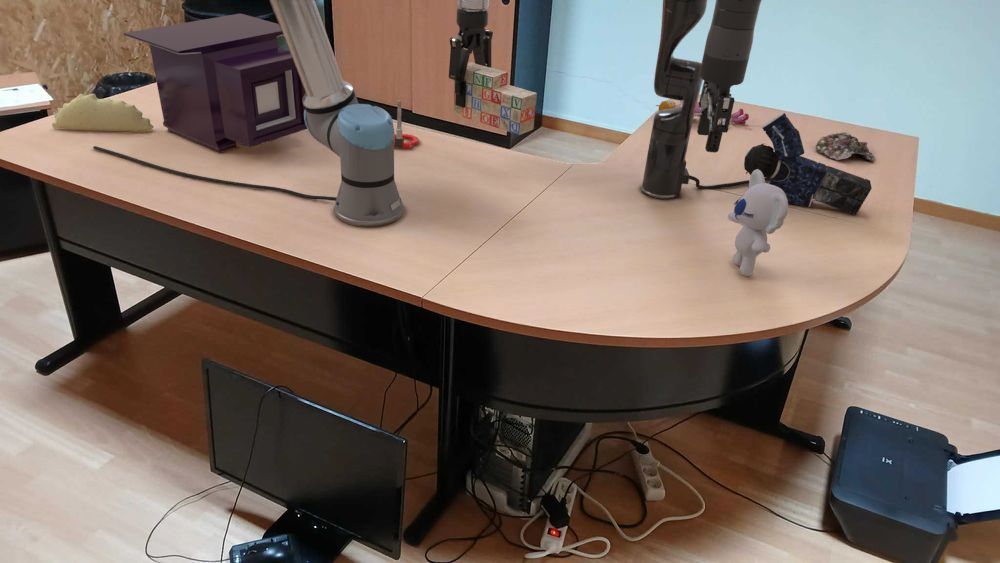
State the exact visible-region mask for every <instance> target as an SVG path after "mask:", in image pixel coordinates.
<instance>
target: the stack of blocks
mask: <svg viewBox="0 0 1000 563" xmlns="http://www.w3.org/2000/svg"><path fill="white" fill-rule="evenodd" d="M508 76H509V72H508V71H504V70H500V69H497V68H493V67H491V68H490V67H486V66H482V65H479V64H475V62H472V61H471V62H469V61H468V65H467V69H466V73H465V77H464V81H466V104H465V107H464V108H463V107H460V106H457V105H455V100H456V93H455V80H453V115H456V116H459V117H462V118H465V119H467V120H471V121H474V122H477V123H480V124H484V125H486V126H491V127H493V128H496V129H499V130H502V131H505V132H508V133H511V134H513V135H514V134H515V135H517V136H520V135H523V134H525V133H528V132H531V131H532V130H534V128H535V118H536V105H537V95H538V92H535V91H531V90H527V89H525V88H521V87H517V86H514V85H511V84H508V79H509V78H508Z"/></svg>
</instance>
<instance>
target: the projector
mask: <svg viewBox="0 0 1000 563" xmlns="http://www.w3.org/2000/svg"><path fill="white" fill-rule="evenodd" d="M123 36H125V37H127V38H130V39H133V40H136V41H138V42H142V43H145V44H148V45H149V50H150V54H151V60H152V66H153V71H154V75H155V76H154V77H155V82H156V87H157V92H158V97H159V102H160V107H161V113H162V118H163V122H162V126H163V127H165V128H166V129H167V131H168V132H170V133H172V134H175V135H177V136H179V137H182V138H184V139H187V140H189V141H191V142H193V143H196V144H197V145H200V146H203V147H205V148H207V149H209V150H212V151H215V152H217V153H219V154H220V153H224V152H227V151H229V150H233V149H235V148H237V144H240V145H242V146H245V147H247V148H249V149H250V148H253V147H256V146H259V145H262V144H266V143H269V142H271V141H275V140H278V139H281V138H285V137H287V136H289V135H293V134H296V133H300V132H302V131H305V130H308V129H307V127H306V124H305V121H304V110H305V108H304V105H303V103H302V99H303V97H304V95H305V93H306V92H305V89H304V87H303V84H302V82H301V79H300V77H299V74H298V71H297V69H296V66H295V64H294V61H293V59H292V56H291V54H290V51H289V49H285V48H282V47H279V44H278V40H277V38H280V37H282V36H283V33H282V31H281V28H280V26H279V23H276V22H272V21H269V20H264V19H262V18H259V17H256V16H255V17H254V16H252V15H247V14H244V13H235V14H230V15H224V16H217V17H212V18H205V19H200V20H194V21H188V22H181V23H175V24H169V25H163V26H157V27H151V28H146V29H145V28H144V29H139V30H134V31H128V32H123Z"/></svg>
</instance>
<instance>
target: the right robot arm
mask: <svg viewBox="0 0 1000 563" xmlns="http://www.w3.org/2000/svg"><path fill="white" fill-rule="evenodd" d="M762 1H763V0H715V5H714V10H713V14H712V20H711V24H710V26H709V29H708V33H707V36H706V39H705V45H704V50H703V55H702V61H701V62H699V61H695V60H689V59H684V58H683V59H682V58H678V57H677V58H676V57H674V52H675V50H676V49H677V47H678V46H679V45H680V44H681V42H682V41H683V40H684V38H686V37H687V36H688V34H690V32H691V31H693V29H694V28H696V26H697V25H698V24H699V23H700V21H701V20H702V18H703V17H704V16H705V14H706V11H707V6H708V0H662V7H661V8H662V10H661V26H660V37H659V38H660V39H659V45H658V51H657V52H658V53H657V59H656V65H655V70H654V78H653V91H654V94H655V95H656V96H657V97H660V98H665V99H667V100H669V99H670V100H675V101H679V102H680V101H682V105H680V106H678V107H675V108H671V109H665V110H661V111H659V110H658V111H657V112H656V113H655V114H654V116H653V122H652V128H651V133H650V138H649V144H648V148H647V156H646V160H645V161H646V162H645V165H644V172H643V178H642V183H641V186H640V190H641V192H642V193H643V194H645V195H646V196H649V197H651V198H655V199H660V200H661V199H662V200H669V199H670V200H671V199H674V198H678V199H679V198H680V196H681V192H682V186H683V185H688V184H689V181H691V180H692V181H694V182H695V187H696V188H697V189H698V190H717V189H722V188H723V189H724V188H730V187H731V188H732V187H737V186H743V185H749V180H750V179H747V180H741V181H736V182H728V183H719V184H714V185H713V184H712V185H701V182H700V179H699V178H697V177H696V176H693V175H690V173H689V170H688V169H687V160H686V156H687V151H688V146H689V141H690V136H691V132H692V127H693V122H694V121H693V119H695V116H694V113H695V109H696V104H697V102H699V107H701V108H700V113H701V115H700V117H699V120H698V125H697V130H696V133H697V135H698V136H707V138H706V143H705V147H704V148H705V151H706V152H707V153H718V152H719V150H720V146H721V141H722V137H723V133H728V132H729V127H730V123H731V120H730V118H731V114H733V109H734V106H735V105H734V104H735V97H732V93H731V88H732V87H733V86H739V85H741V84H743V83H744V81H745V77H746V72H747V68H748V64H749V60H750V56H751V51H752V47H753V43H754V34H755V28H756V25H757V24H756V23H757V20H758V15H759V11H760V7H761V4H762ZM700 92H701V93H700ZM698 100H699V101H698ZM719 121H720V124H718V123H719ZM764 179H765V182H769V181H770V179H771V178H765V177H764Z"/></svg>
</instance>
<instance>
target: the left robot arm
mask: <svg viewBox="0 0 1000 563" xmlns="http://www.w3.org/2000/svg"><path fill="white" fill-rule="evenodd" d="M269 4H270V5H271V8H272V11H273V14H274V15H275V18H276V21H277V24H279V26H280V28H281V31H282V33H283V35H282V36H283V39H284V41H285V43H286V47H287V50H288V51H290V54H291V56H292V59H293V61H294V64H295V66H296V69H297V71H298V74H299V77H300V79H301V82H302V84H303V87H304V89H305V92H306V93H305V95H304V97H303V99H302V103H303V105H304V108H305V110H304V121H305V124H306V127H307V129H306V130H308V132H309V134H310V135H311V136H312V137H313V139H315V140H316V141H317V142H318V143H320V144H321V145H323V146H324V147H326V148H327V149H328V150H330V151H331V152H332V153H334V154H335V155H336V156H338V157H339V163H340V177H341V180H340V185H339V188H338V191H337V195H336V196H328V195H326V196H325V195H311V194H305V193H302V192H297V191H294V190H291V189H287V188H282V187H277V186H269V185H261V184H252V183H245V182H238V181H231V180H224V179H218V178H213V177H207V176H203V175H202V176H201V175H197V174H193V173H188V172H183V171H179V170H177V169H176V170H175V169H172V168H168V167H164V166H161V165H158V164H154V163H151V162H148V161H145V160H142V159H138V158H135V157H132V156H129V155H126V154H123V153H120V152H116V151H113V150H110V149H107V148H103V147H99V146H96V145H94V146H93V147H92V148H93V150H95V151H100V152H103V153H106V154H110V155H113V156H115V157H120V158H123V159H126V160H128V161H131V162H134V163H137V164H141V165H143V166H147V167H150V168H152V169H156V170H160V171H163V172H167V173H171V174H174V175H177V176H178V175H179V176H181V177H187V178H191V179H196V180H201V181H205V182H212V183H217V184H223V185H228V186H229V185H230V186H235V187H243V188H251V189H258V190H268V191H273V192H274V191H275V192H279V193H280V192H281V193H286V194H288V195H289V194H290V195H292V196H296V197H300V198H303V199H309V200H322V201H323V200H324V201H334V214H335V217H336V218H337V219H338V220H339V221H341V222H342V223H344V224H347V225H350V226H355V227H362V228H372V227H373V228H375V227H381V226H385V225H390V224H392V223H394V222H396V221H398V220H399V219H400V218H401V217H402V215H403V214H404V205H403V199H402V198H401V195H400V192H399V189H398V187H397V183H396V180H395V147H394V140H395V139H394V135H395V134H396V132H395V128H394V122H393V121H394V120H393V118H392V115H391V114H390V113H389V112H388V111H386V110H385V109H384V108H382V107H379V106H377V105H374V106H373V105H371V104H368V103H359V101H358V98H357V96H356V92H355V90H354V87H353V85H352V84H351V83H350V82H348V81H346V80H344V79H343V77H342V76H343V75H342V74H341V71H340V68H339V65H338V62H337V60H336V56H335V54H334V51H333V48H332V46H331V43H330V39H329V37H328V34H327V30H326V28H325V25H324V23H323V20H322V17H321V14H320V12H319V11H320V10H319V9H318V5H317V3H316V0H269ZM456 4H457V5H456V6H457V7H458V8H457V9H456V24H457V25H458V28H459V30H458V33H457V36H455V37H454V36H453V37H452V36H451V37H450V38H449V45H450V46H449V47H450V54H449V67H448V79H450V80H453V81H454V80H455V93H456V100H455V105H457V106H460V107H463V108H464V107H465V104H466V81H464V77H465V73H466V69H467V65H468V63H469V61H470V55H471V54H473V55H472V56H473V60H474V63H475V64H479V65H482V66H486V67H490V68H492V39H493V35H494V32H493V31H492V30H488V29H486V27H488V25H489V10H488V8H489V7H490V0H456Z"/></svg>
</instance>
